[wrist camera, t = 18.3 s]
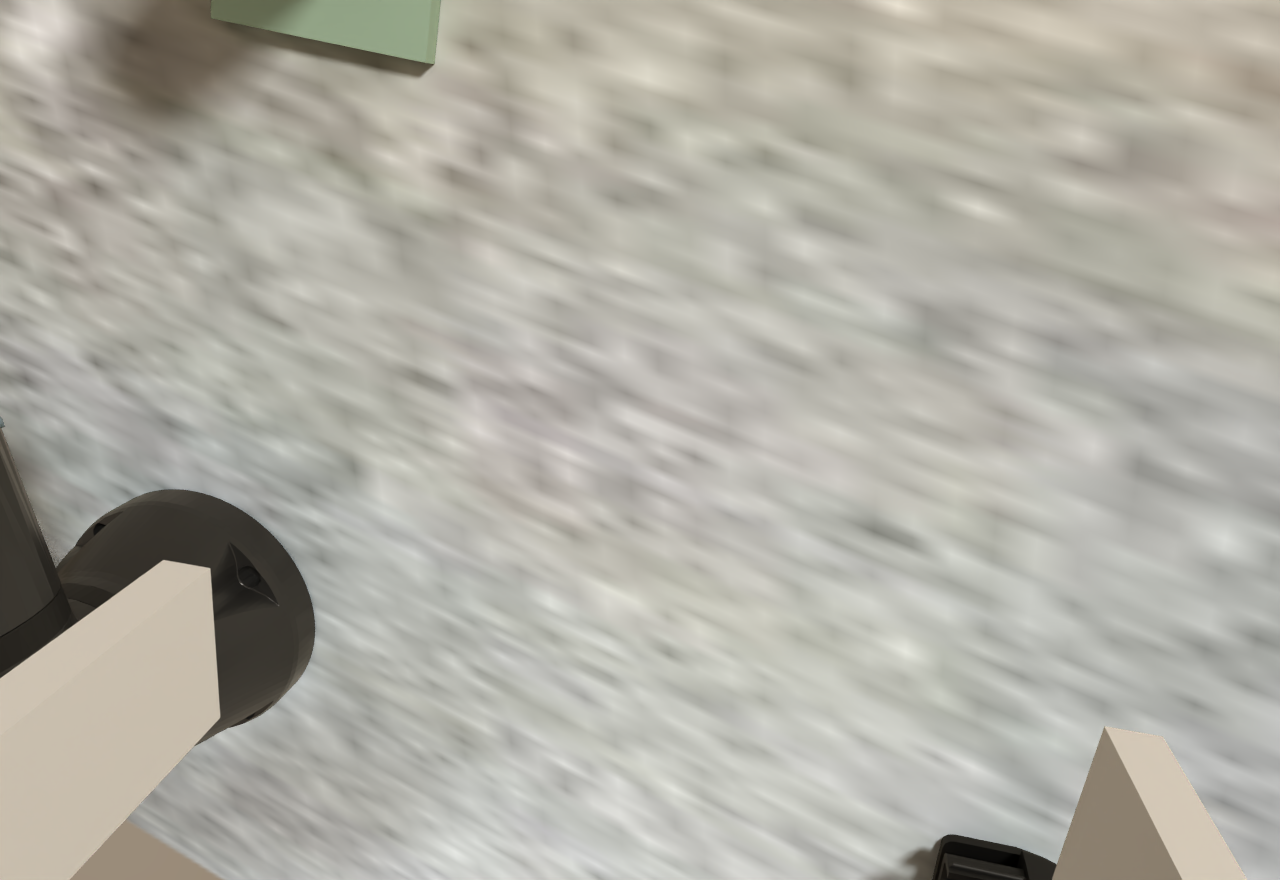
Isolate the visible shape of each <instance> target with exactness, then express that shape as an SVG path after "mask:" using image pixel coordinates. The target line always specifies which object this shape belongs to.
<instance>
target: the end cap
mask: <svg viewBox="0 0 1280 880" xmlns="http://www.w3.org/2000/svg"><path fill="white" fill-rule="evenodd" d="M1056 866H1057V865H1056V864H1055V863H1053V862H1051V861H1049V860H1047V859H1045V858H1043V857H1041V856H1038V855H1036V854H1033V853H1030V852H1028V851H1025V850H1022V849H1020V848H1017V847H1013V846H1008V845H1003V844H998V843H993V842H988V841H983V840H978V839H974V838H969V837H964V836H959V835H947V836H945V837H944V838H943V839H942V841H941V845H940V850H939V854H938V858H937V862H936V866H935V870H934V875H933V879H932V880H1052V877H1053V875H1054V872H1055V869H1056Z"/></svg>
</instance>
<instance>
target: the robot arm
mask: <svg viewBox="0 0 1280 880" xmlns="http://www.w3.org/2000/svg"><path fill="white" fill-rule="evenodd" d="M3 427H5V425H4V422H3V419H2V418H1V417H0V880H70V879H71V878H72V876H74V874H75V873H76V872H77V871H78V870H79V869H80V868H81V867H82V866H83V865H84V864H85V863H86V862H87V860H88V859H89V858H90V857H91V856H92V855H93V854H94V853H95V852H96V851H97V850H98V849H99V848H100V846H101V845H102V844H103V843H104V842H105V841H106V840H107V839H108V838H109V837H110V836H111V835H112V834H113V832H114V831H115V830H116V829H117V828H118V827H119V826H120V825H121V824H122V823H123V822H124V821H125V820H126V819H127V817H128V816H129V815H130V814H131V813H132V812H133V811H134V810H135V809H136V808H137V807H138V806H139V805H140V803H141V802H142V801H143V800H144V799H145V798H146V797H147V796H148V795H149V794H150V793H151V792H152V791H153V789H154V788H155V787H156V786H157V785H158V784H159V783H160V782H161V781H162V780H163V779H164V778H165V777H166V776H167V774H168V773H169V772H170V771H171V770H172V769H173V768H174V767H175V766H176V765H177V764H178V763H179V762H180V760H181V759H182V758H183V757H184V756H185V755H186V754H187V753H188V752H189V751H190V750H191V749H192V748H193V746H195V745H197V744H199V743H201V742H203V741H205V740H207V739H209V738H211V737H212V736H214V735H215V734H217V733H219V732H221V731H223V730H225V729H227V728H230V727H234V726H237V725H240V724H243V723H246V722H248V721H250V720H252V719H254V718H256V717H258V716H260V715H261V714H263V713H264V712H266V711H267V710H268V709H270V708H271V707H272V706H273V705H275V704H276V703H277V702H278V701H279V700H280V699H281V698H282V697H283V696H284V694H285V693H286V692H287V691H288V690H289V689H290V688H291V687H292V686H293V685H294V684H295V683H296V682H297V681H298V680H299V678H300V677H301V676H302V674H303V672H304V671H305V669H306V667H307V665H308V663H309V660H310V658H311V654H312V651H313V646H314V638H315V620H314V612H313V607H312V602H311V599H310V595H309V592H308V590H307V587H306V584H305V582H304V580H303V578H302V576H301V574H300V572H299V570H298V568H297V566H296V565H295V563H294V561H293V560H292V558H291V557H290V556H289V554H288V553H287V551H286V550H285V549H284V548H283V546H282V545H281V544H280V543H279V542H278V540H277V539H276V538H275V537H274V536H273V535H272V534H271V533H270V532H269V531H268V530H267V529H266V528H264V527H263V526H262V525H261V524H260V523H259V522H257V521H256V520H255V519H253V518H252V517H251V516H249V515H248V514H246V513H245V512H243V511H242V510H240V509H238V508H237V507H235V506H233V505H231V504H229V503H227V502H225V501H223V500H220V499H218V498H215V497H213V496H210V495H206V494H203V493H199V492H194V491H188V490H173V489H170V490H159V491H153V492H149V493H146V494H143V495H140V496H138V497H136V498H133V499H132V500H130V501H128V502H126V503H124V504H122V505H121V506H119V507H117V508H115V509H113V510H111V511H110V512H108V513H106V514H105V515H103V516H102V517H101V518H99V519H98V520H97V521H96V522H94V523H93V524H92V525H91V526H90V527H89V528H88V529H87V530H86V531H85V533H84V534H83V535H82V536H81V538H80V539H79V540H78V542H77V544H76V545H75V547H74V548H73V549H72V550H71V551H70V552H69V553H68V554H67V555H66V556H65V557H64V558H63V560H62V561H61V562H60V563H59V565H58V566H57V567H56V568H55V565H54V563H53V560H52V558H51V555H50V553H49V550H48V547H47V545H46V542H45V540H44V537H43V535H42V532H41V529H40V527H39V524H38V522H37V519H36V517H35V514H34V511H33V509H32V506H31V504H30V501H29V498H28V496H27V493H26V491H25V488H24V486H23V483H22V480H21V478H20V475H19V473H18V470H17V468H16V465H15V462H14V460H13V457H12V455H11V452H10V450H9V447H8V444H7V442H6V439H5V437H4V434H3V432H2V429H1V428H3ZM1052 880H1247V878H1246V877H1245V875H1244V873H1243V872H1242V870H1241V868H1240V867H1239V865H1238V863H1237V862H1236V860H1235V858H1234V856H1233V855H1232V853H1231V851H1230V850H1229V848H1228V846H1227V845H1226V843H1225V841H1224V840H1223V838H1222V836H1221V834H1220V833H1219V831H1218V829H1217V828H1216V826H1215V824H1214V823H1213V821H1212V819H1211V818H1210V816H1209V814H1208V812H1207V811H1206V809H1205V807H1204V806H1203V804H1202V802H1201V801H1200V799H1199V797H1198V796H1197V794H1196V792H1195V790H1194V789H1193V787H1192V785H1191V784H1190V782H1189V780H1188V779H1187V777H1186V775H1185V774H1184V772H1183V770H1182V768H1181V767H1180V765H1179V763H1178V762H1177V760H1176V758H1175V757H1174V755H1173V753H1172V752H1171V750H1170V748H1169V746H1168V745H1167V743H1166V741H1165V740H1164V738H1163V737H1162V736H1156V735H1150V734H1145V733H1139V732H1133V731H1128V730H1122V729H1116V728H1111V727H1105V726H1104V729H1103V732H1102V735H1101V738H1100V741H1099V744H1098V747H1097V750H1096V753H1095V755H1094V758H1093V761H1092V764H1091V767H1090V770H1089V773H1088V776H1087V779H1086V782H1085V785H1084V787H1083V790H1082V793H1081V796H1080V799H1079V802H1078V805H1077V808H1076V811H1075V814H1074V816H1073V819H1072V822H1071V825H1070V828H1069V831H1068V834H1067V837H1066V840H1065V843H1064V845H1063V848H1062V851H1061V854H1060V857H1059V860H1058V863H1057V866H1056V869H1055V872H1054V875H1053V877H1052Z"/></svg>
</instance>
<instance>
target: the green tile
mask: <svg viewBox="0 0 1280 880" xmlns="http://www.w3.org/2000/svg"><path fill="white" fill-rule="evenodd" d="M440 2H441V0H211V18H212V19H217V20H221V21H226V22H231V23H236V24H241V25H246V26H250V27H255V28H260V29H265V30H270V31H274V32H279V33H284V34H289V35H294V36H299V37H303V38H308V39H313V40H318V41H323V42H327V43H332V44H337V45H342V46H347V47H352V48H356V49H361V50H366V51H371V52H376V53H380V54H385V55H390V56H395V57H400V58H405V59H409V60H414V61H419V62H424V63H431V64H434V63H435V53H436V42H437V32H438V22H439V12H440Z"/></svg>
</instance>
